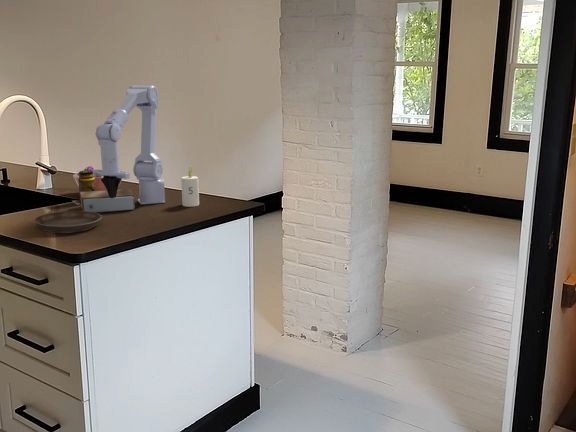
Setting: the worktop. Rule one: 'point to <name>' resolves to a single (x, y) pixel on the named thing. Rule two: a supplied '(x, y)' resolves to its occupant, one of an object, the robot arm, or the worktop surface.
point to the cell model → (98, 182)
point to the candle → (190, 190)
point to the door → (109, 204)
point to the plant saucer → (68, 221)
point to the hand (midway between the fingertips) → (112, 197)
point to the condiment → (85, 183)
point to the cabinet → (104, 196)
